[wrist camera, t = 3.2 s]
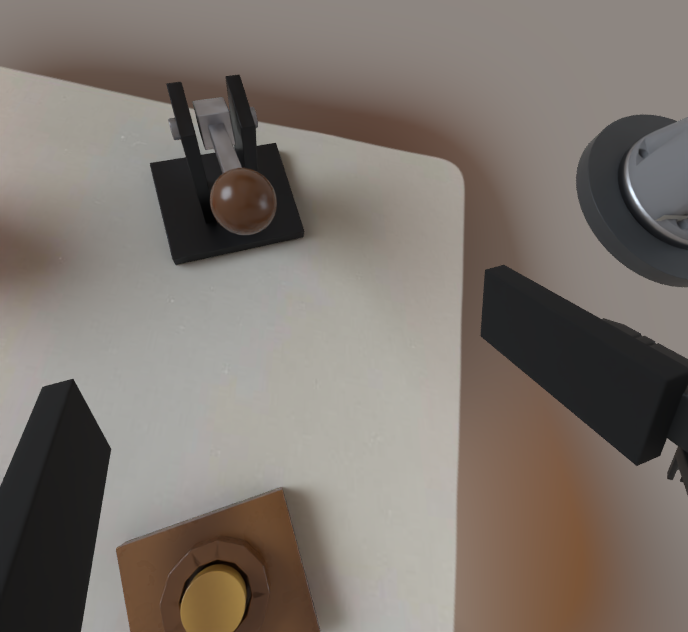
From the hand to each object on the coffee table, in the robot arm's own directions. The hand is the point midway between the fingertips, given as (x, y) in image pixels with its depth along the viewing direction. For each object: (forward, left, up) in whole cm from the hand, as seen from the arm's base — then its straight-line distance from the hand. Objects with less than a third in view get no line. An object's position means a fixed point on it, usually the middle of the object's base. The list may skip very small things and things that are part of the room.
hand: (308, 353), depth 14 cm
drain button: (+8, +11, -21) cm, 25 cm away
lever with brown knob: (0, -14, -12) cm, 19 cm away
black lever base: (0, -20, -24) cm, 32 cm away
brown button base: (+8, +11, -24) cm, 28 cm away
